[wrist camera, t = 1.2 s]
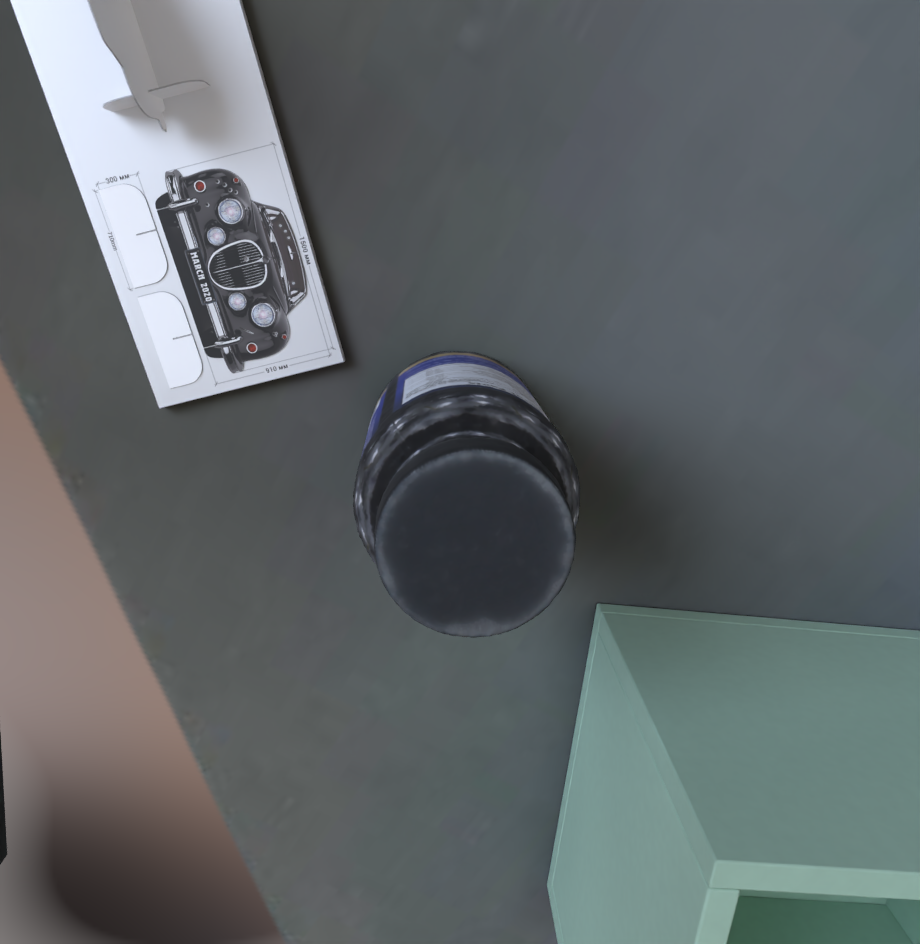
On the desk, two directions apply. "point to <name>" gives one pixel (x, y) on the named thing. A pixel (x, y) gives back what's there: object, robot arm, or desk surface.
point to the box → (741, 784)
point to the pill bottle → (466, 496)
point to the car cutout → (185, 188)
